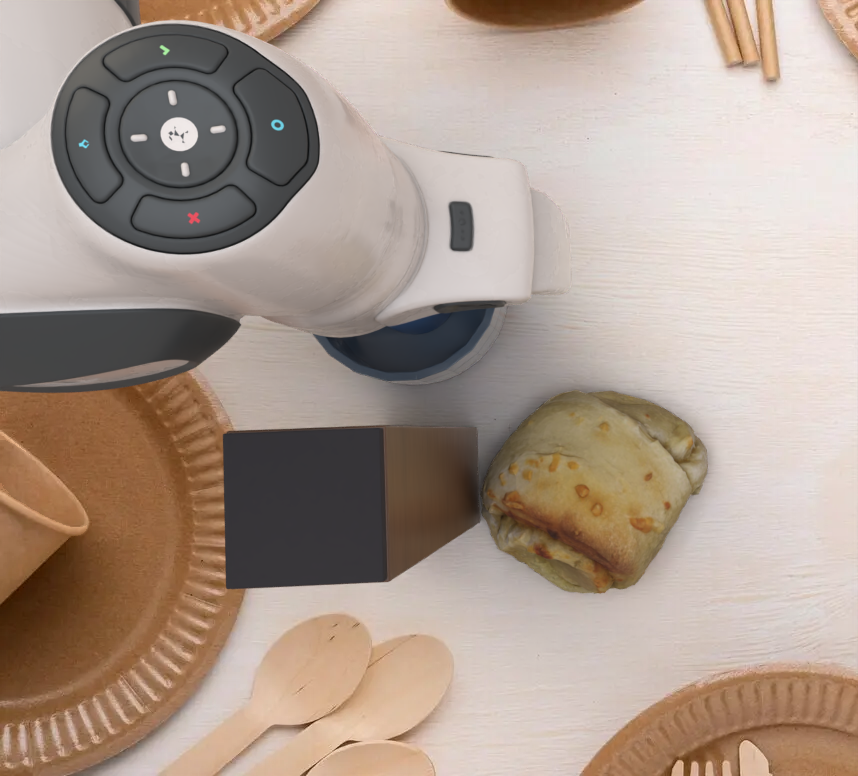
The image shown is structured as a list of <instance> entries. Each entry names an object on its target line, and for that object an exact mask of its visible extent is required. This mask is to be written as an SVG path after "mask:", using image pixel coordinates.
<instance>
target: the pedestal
mask: <svg viewBox="0 0 858 776" xmlns="http://www.w3.org/2000/svg"><path fill="white" fill-rule="evenodd" d="M358 428H383V447H384V485H385V523H386V560H387V580H385V581H383V582H371V583H370V584H376V583H377V584H378V583H379V584H380V583H389V582H392V581H393V580H394V579H396V578H398V577H399V576H401V575H402V574H404V573H405V572H406V571H408V570H410V569H411V568H413V567H414V566H415V565H417V564H419V563H421V562H422V561H424V560H425V559H426V558H428V557H430V556H431V555H433V554H435V553H436V552H437V551H439V550H440V549H442V548H444V547H445V546H446V545H448V544H449V543H451V542H452V541H454V540H456V539H457V538H458V537H460V536H462V535H463V534H465V533H467V532H468V531H469V530H471V529H473V528H474V527H475V526H477V525H478V524H480V523H481V511H480V477H479V475H480V474H479V445H478V444H479V442H478V427H474V426H435V425H433V426H432V425H431V426H430V425H399V424H398V425H394V424H392V425H391V424H379V425H351V426H350V425H348V426H326V427H325V426H323V427H296V428H295V427H294V428H293V427H292V428H271V429H270V428H269V429H268V428H267V429H241V430H240V429H239V430H228V431H226V433H250V432H277V431H304V430H331V429H358ZM356 584H357V585H358V584H359V585H360V584H361V583H350V584H349V585H356ZM336 585H339V584H328V585H327V586H336ZM313 586H314V587H315V586H318V585H307V586H306V587H313ZM293 587H296V588H297V586H286V587H285V588H293ZM270 588H271V589H275V587H264V588H263V589H270ZM249 589H251V590H252V589H254V588H243V589H242V590H249Z"/></svg>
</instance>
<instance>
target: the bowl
mask: <svg viewBox="0 0 858 776" xmlns="http://www.w3.org/2000/svg"><path fill="white" fill-rule="evenodd" d="M508 306H509V305H507V306H504V307H500V308H486V309H475V310H466V311H459V312H452V313H451V314H450V316H449V317H448V319H447V320H446V321H445V322H444V323H443V324H442V325H440V326H439V327H438V328H436V329H434V330H432V331H430V332H427V333H423V334H406V333H402V332H399V331H397V330H394V329H392V328H390V327H388V326H386V327H384V328H381V329H379V330H377V331H374V332H371V333H368V334H364V335H360V336H353V337H341V338H340V337H326V336H320V335H316V334H312V336H313V337H314V338H315V339H316V341H317V342H318V343H319V345H320V346H321V347H322V348H323V350H324V351H325V352H326V353H327V354H328V356H330V357H331V358H333V360H335V361H337V362H338V363H340V364H341V365H343V366H345V367H346V368H348V370H350V371H352V372H353V373H356V374H359V375H362V376H366V377H370V378H372V379H377V380H380V381H384V382H388V383H392V384H398V385H402V386H405V385H407V386H408V385H411V386H415V385H416V386H421V385H433V384H436V383H440V382H444V381H447V380H449V379H453V378H455V377H457V376H459V375H461V374H462V373H464V372H466V371H468V370H469V369H470V368H472V367H473V366H474V365H476V364H477V363H478V362H479V361H480V360H481V359H482V358H483V357H484V356H486V354H487V353H488V351H490V349H491V348H492V347H493V345H494V343H495V342H496V340H497V338H499V334H500V333H501V331H502V328H503V325H504V323H505V321H506V316H507V310H508Z"/></svg>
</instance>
